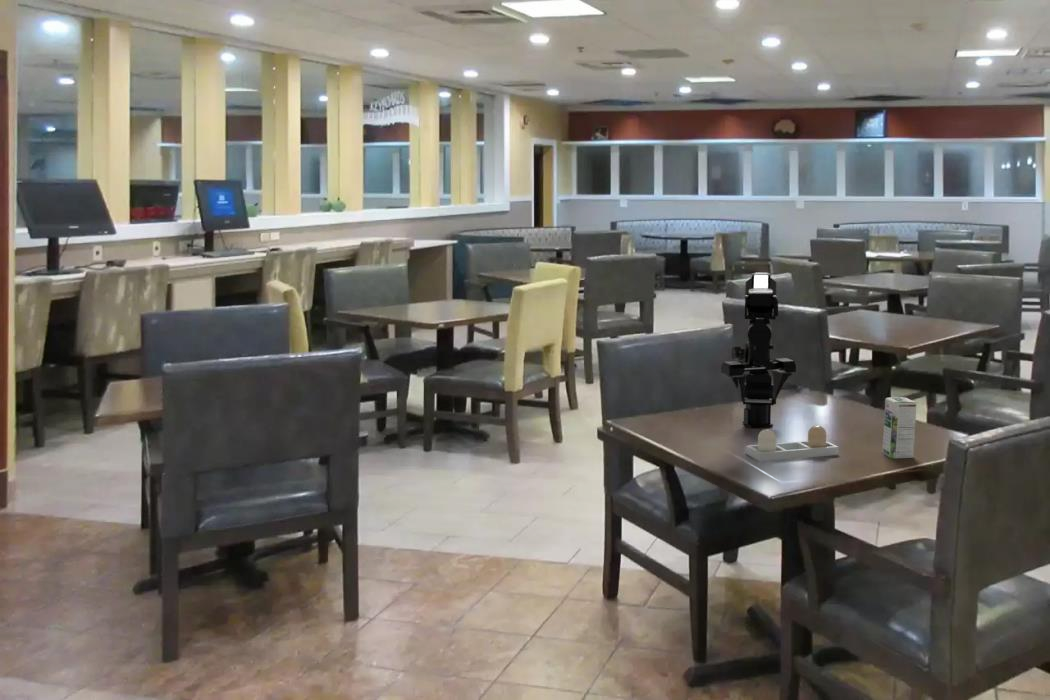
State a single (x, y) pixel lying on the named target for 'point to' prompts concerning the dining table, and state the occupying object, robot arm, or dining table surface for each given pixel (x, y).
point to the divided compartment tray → (791, 451)
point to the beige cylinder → (816, 437)
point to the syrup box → (899, 427)
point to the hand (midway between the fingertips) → (758, 399)
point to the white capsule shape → (766, 441)
